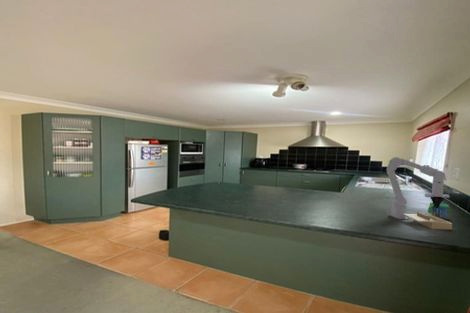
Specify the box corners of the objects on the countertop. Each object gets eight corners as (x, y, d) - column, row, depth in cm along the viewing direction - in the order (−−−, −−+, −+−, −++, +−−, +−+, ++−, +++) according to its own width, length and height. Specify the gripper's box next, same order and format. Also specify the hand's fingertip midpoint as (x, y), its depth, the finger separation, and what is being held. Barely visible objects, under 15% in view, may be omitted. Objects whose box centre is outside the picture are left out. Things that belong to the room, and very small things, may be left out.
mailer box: (413, 220, 162) (414, 214, 162) (431, 221, 161) (432, 215, 161) (431, 228, 146) (432, 222, 146) (451, 229, 145) (452, 223, 145)
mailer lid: (402, 214, 162) (402, 210, 162) (419, 215, 162) (420, 211, 161) (418, 221, 146) (418, 217, 146) (438, 222, 146) (438, 218, 145)
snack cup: (433, 219, 165) (434, 205, 165) (421, 215, 176) (422, 202, 175) (455, 220, 165) (456, 206, 165) (442, 215, 176) (443, 202, 175)
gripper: (431, 188, 154) (429, 208, 154) (454, 189, 153) (452, 209, 153) (423, 186, 161) (421, 206, 161) (445, 187, 160) (443, 207, 160)
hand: (436, 207), depth 158 cm, fingers closed
